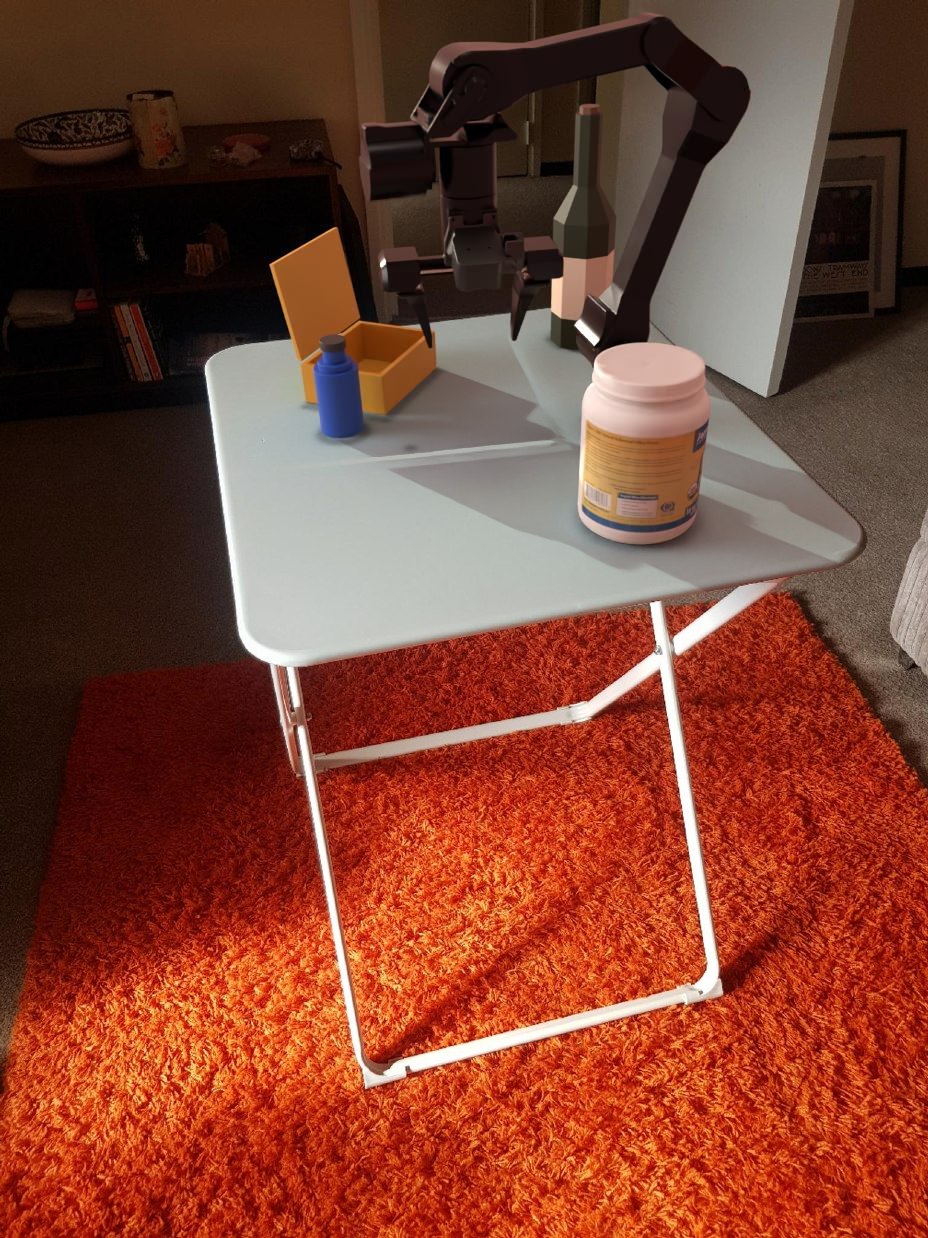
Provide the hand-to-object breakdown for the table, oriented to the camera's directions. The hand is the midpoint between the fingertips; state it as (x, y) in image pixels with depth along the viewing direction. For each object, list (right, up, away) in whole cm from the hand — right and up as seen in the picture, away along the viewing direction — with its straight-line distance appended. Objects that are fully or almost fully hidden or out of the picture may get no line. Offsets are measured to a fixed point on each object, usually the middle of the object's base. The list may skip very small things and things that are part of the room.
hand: (472, 343), depth 106 cm
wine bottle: (+16, +10, +34) cm, 38 cm away
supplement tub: (+17, -20, -5) cm, 26 cm away
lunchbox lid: (-19, +11, +17) cm, 28 cm away
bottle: (-16, -7, +13) cm, 21 cm away
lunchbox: (-13, 0, +22) cm, 26 cm away
